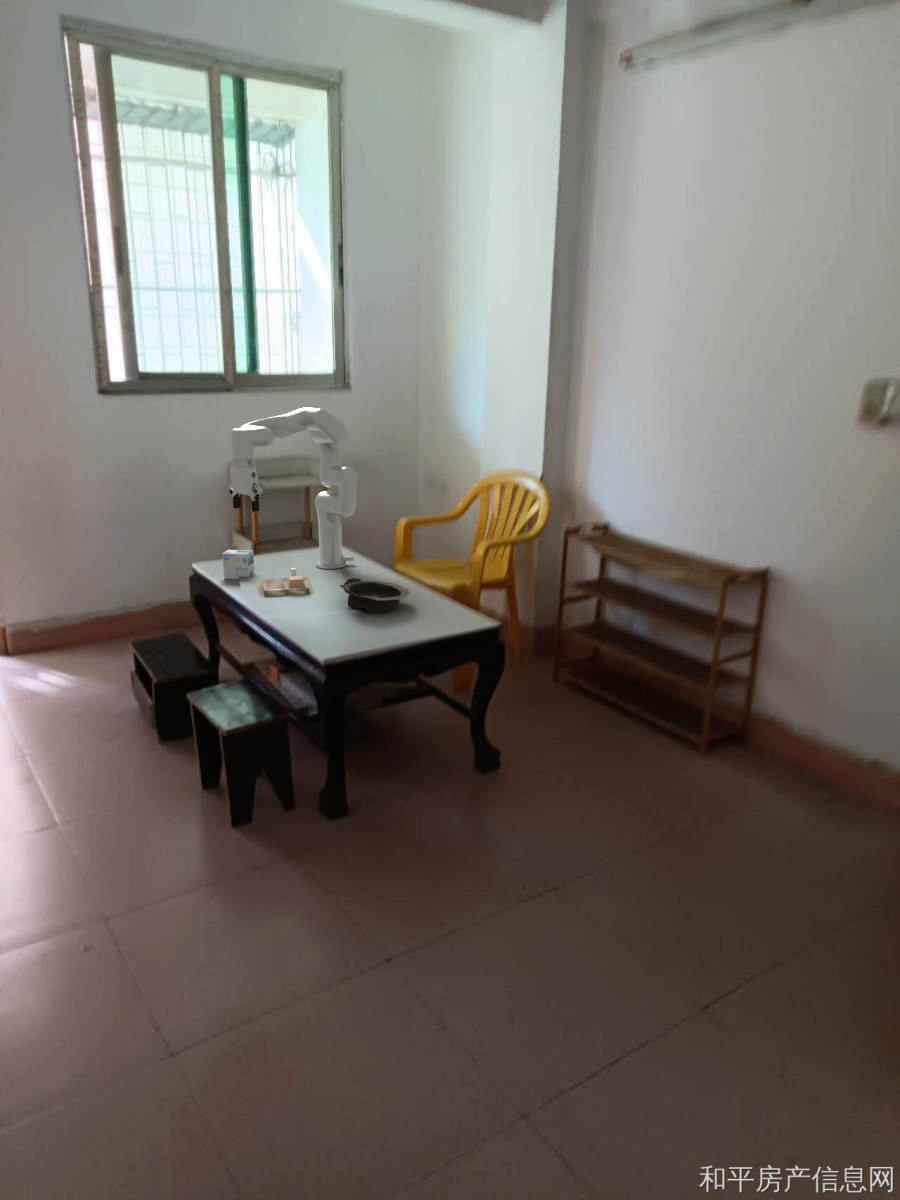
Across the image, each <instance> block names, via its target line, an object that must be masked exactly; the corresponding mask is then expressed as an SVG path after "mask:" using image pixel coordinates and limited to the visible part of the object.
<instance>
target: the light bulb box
mask: <svg viewBox="0 0 900 1200" xmlns="http://www.w3.org/2000/svg"><path fill="white" fill-rule="evenodd" d="M254 557H255V556H254V549H253V550H249V549H244V550H243V549H227V550H226V551H224V552H222V566H223V578H224V580H238V579H240V577H251V576H254V575H256V572H255V560H254Z"/></svg>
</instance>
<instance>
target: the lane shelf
mask: <svg viewBox="0 0 900 1200" xmlns="http://www.w3.org/2000/svg"><path fill="white" fill-rule="evenodd" d="M302 577H303V581H304V587H302V588H289V577H284V578H283V577H281V578H279V577H278V578H265V579H264V578H262V579H255V581H256V585H257V590H258V596H259V597H273V596H274V597H275V596H289V595H303V594H304V595H305V594H306V595H307V594H314V593H315V590H314V588H313V585H312V583H311V582H310V579H309V577H308V576H302Z"/></svg>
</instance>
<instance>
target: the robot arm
mask: <svg viewBox="0 0 900 1200" xmlns="http://www.w3.org/2000/svg"><path fill="white" fill-rule="evenodd" d="M306 431H308V434H309V435H310V438H311V440H313V441H314V442H315V444H316V445H317V446H318V448H319V452H320V468H319V469H320V471H319V477H320V478H319V481H320V483H321V485H322V486H324V487H325V488H328V489H329V488H330V489H336V490H338V491H332V490H323V491H320V492H319V493H318V494H317V495H316V497H315V501H314V503H315V504H314V505H315V510H316V515H317V523H318V549H319V550H318V551H319V552H318V553H319V560H317V561H316V562H315V566H316V567H317V568H319V569H324V570H335V569H336V568H337V569H341V567H342V568H344V567H346V566H347V561H348V562H352V561H354V556H352V555H351V556H350V555H344V554H343V540H342V539H343V537H342V536H343V532H342V530H343V529H342V521H341V519H340V517H342V518H343V517H344V518H347V517H350V516H352V515H353V514H354V513H355V510H356V505H357V489H358V477H357V473H356V471H355V470H354V469H353V468H352V467H349V466H345V465H343V464H342V463H343V461H342V460H343V459H342V457H343V455H342V449H341V446H340V445H342V444H344V443H345V442H346V441H347V439H348V429H347V426H345V424H344V423H343V422H341V421H340V420H339V419H338V418H337V417H335V416H334V415H333V414H331V413H330V412H329V411H328V410H326V409H323V408H319V407H318V408H317V407H307V406H306V407H305V406H304V407H302V408H301V407H300V408H298V409H295V410H292V411H290V412H287V413H285V414H281V415H276V416H275V415H274V416H271V417H268V418H261V419H257V420H254V421H250V422H248V423H245V424H242V425H241V426H240V427H236V428H233V429H232V430H231V432H230V436H231V437H230V439H231V453H232V454H231V455H232V469H231V482H230V483H228V484H227V488H228V490H229V491H228V492H229V494H230V496H231V498H232V505H233V509H239V508H240V509H241V507H242V503H241V499H242V498H241V496H240V495H243V496H244V495H245V496H249V497H250V499H251V501H250V502H251V503H250V504H251V513H256V512H259V511H260V500H261V498H262V496H263V493H264V489H263V488H262V487H261V486H260V481H259V474H258V470H257V467H256V466H255V464H256V462H255V455H254V454H255V453H254V451H255V450H254V448H263V449H264V448H268V447H270V446H271V445H272V444H274V440H275V439H287V438H291V437H293V436H296V435H297V434H298V435H299V434H301V433H304V432H306ZM345 565H346V566H345ZM337 569H336V570H337Z"/></svg>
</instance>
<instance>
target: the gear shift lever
mask: <svg viewBox="0 0 900 1200" xmlns="http://www.w3.org/2000/svg"><path fill="white" fill-rule="evenodd" d="M303 577H304V576H303V575H297V568H296V567H291V568H290V575H289V576H288V578H289V588H302V587H304V581H303Z"/></svg>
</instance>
